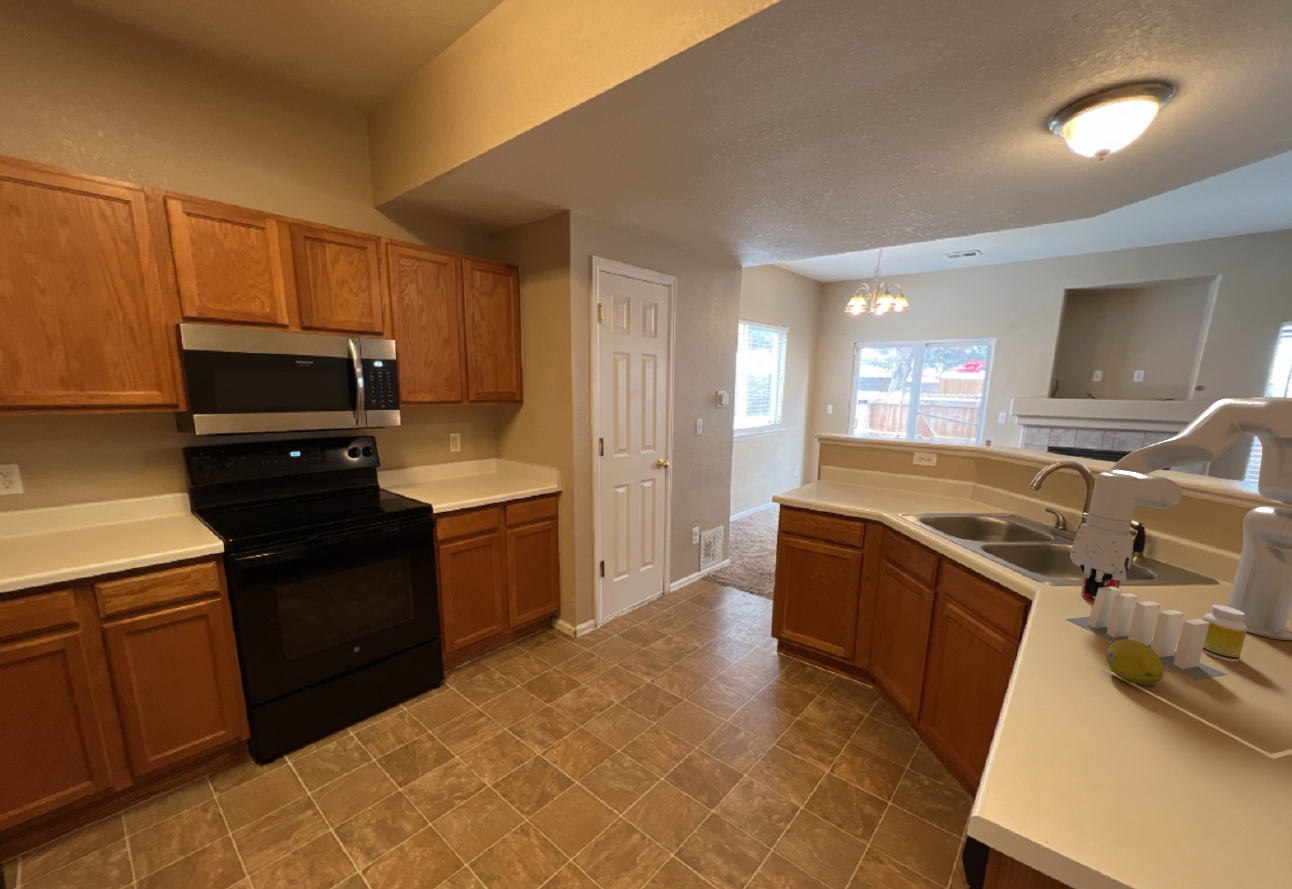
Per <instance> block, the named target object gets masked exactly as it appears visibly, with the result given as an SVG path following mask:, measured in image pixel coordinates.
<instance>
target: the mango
mask: <svg viewBox="0 0 1292 889" xmlns="http://www.w3.org/2000/svg"><path fill="white" fill-rule="evenodd" d="M1105 658H1106V662H1107V664H1108V666H1109V668H1110V669H1111V671H1112V672H1113V673H1114V674H1115V675H1116V676H1118V677H1119V678H1121V679H1122V680H1124V681H1127V682H1128V681H1129V682H1128V683H1132V684H1135V685H1140V686H1152V685H1155V684H1158V683H1159V682H1161V680H1162V679H1163V678H1164V672H1165V671H1164V670H1165V668H1164V665H1163V664H1162V662H1161V660H1160V658H1159V657H1158V655H1157V654H1156V653H1155V652H1154V651H1153V650H1152V649H1150V648H1149V647H1148V646H1146V645H1144V644H1142V643H1140V642H1137V641H1134V640H1127V639H1126V640H1119V641H1116V642H1112V643H1111V644H1110V645H1109V646H1108V648H1107V649H1106V653H1105Z"/></svg>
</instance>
